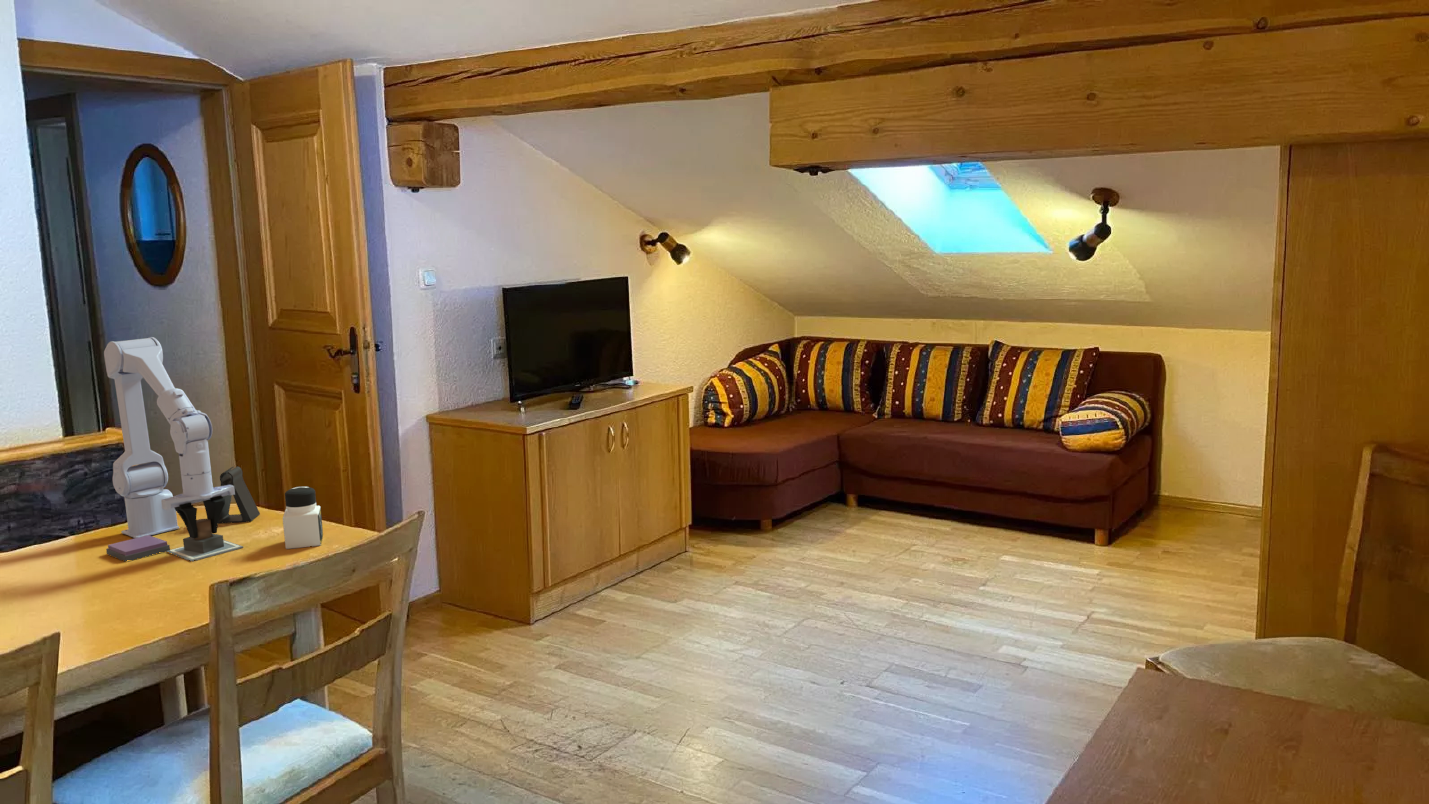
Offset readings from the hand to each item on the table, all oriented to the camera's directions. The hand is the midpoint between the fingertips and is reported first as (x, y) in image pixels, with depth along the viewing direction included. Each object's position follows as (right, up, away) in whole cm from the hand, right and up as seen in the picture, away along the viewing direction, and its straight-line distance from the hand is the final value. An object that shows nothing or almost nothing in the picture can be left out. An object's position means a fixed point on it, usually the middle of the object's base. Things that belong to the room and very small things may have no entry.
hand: (203, 534), depth 226 cm
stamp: (0, -3, +1) cm, 3 cm away
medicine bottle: (+20, -2, +4) cm, 20 cm away
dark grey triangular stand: (-4, 0, +24) cm, 24 cm away
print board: (0, -3, +1) cm, 3 cm away
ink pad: (-14, -4, 0) cm, 14 cm away
